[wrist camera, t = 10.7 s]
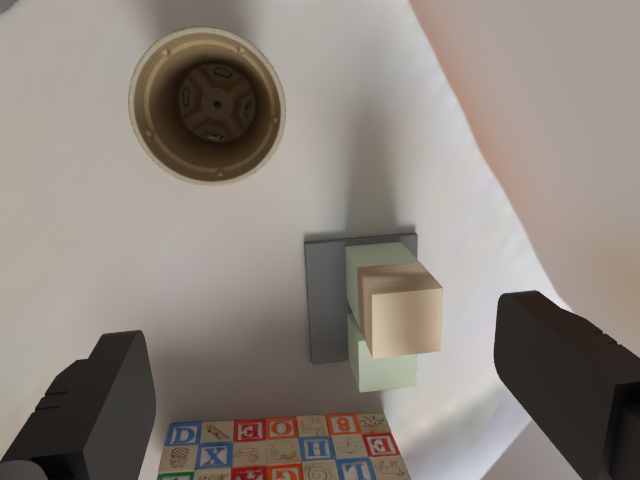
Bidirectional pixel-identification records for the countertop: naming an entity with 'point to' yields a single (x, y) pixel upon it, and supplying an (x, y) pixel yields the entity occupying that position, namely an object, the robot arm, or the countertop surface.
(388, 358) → the sage block far
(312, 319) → the build mat
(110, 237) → the countertop surface
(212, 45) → the flower pot
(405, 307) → the maple block
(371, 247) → the sage block near
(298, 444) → the stack of blocks
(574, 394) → the robot arm
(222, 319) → the countertop surface
